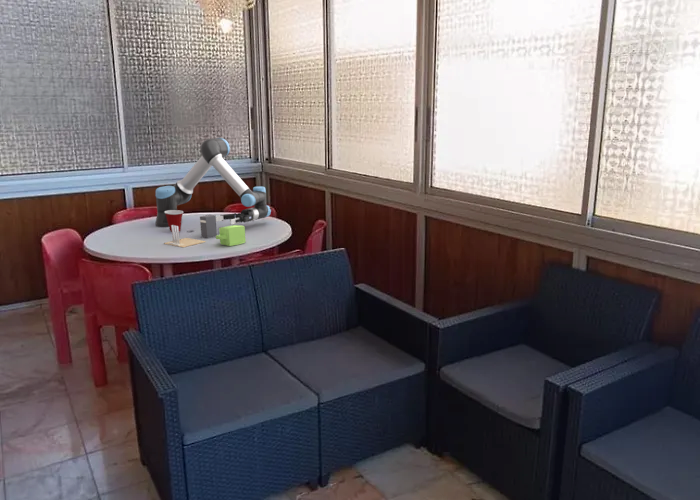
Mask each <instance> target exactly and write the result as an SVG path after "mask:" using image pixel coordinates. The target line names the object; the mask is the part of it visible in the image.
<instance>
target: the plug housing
mask: <svg viewBox="0 0 700 500" xmlns="http://www.w3.org/2000/svg"><path fill="white" fill-rule="evenodd" d="M216 217H217V215H215V214H206V215H202V216H199V222H200V224H199V225H200V235H201V239H206V240H207V239H211V238H216V235H218V229H217V222H216Z"/></svg>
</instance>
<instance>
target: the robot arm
mask: <svg viewBox="0 0 700 500" xmlns="http://www.w3.org/2000/svg"><path fill="white" fill-rule="evenodd" d="M230 147H231V146H230V144H229V142H228V141H227V140H226V139H225V138H222V137H216V138H215V137H214V138H208V139H206V140H203V142H202V143H201V145H200V148H199V149H200V150H199V151H200V154H201V156H200V157H199V158H198V160H197V161H196V162H195V163H194V165H193V166H192V167H191V168H190V170H189V171H188V172H187V173H186V174H185V176H184V177H183V178H182V179H181V180H177V181H176V183H175V184H174V185H166V186H165V185H164V186H160V187H157V188H156V189H155V194H154V195H155V200H156V211H157V213H156V214H157V215H156V218H155V219H156V220H155V227H158V228H169V225H168V221H167V217H166V214H165V211H168V210H178V208H177V207H178V206H180V205H183V204H186V203H188V202H190V200H191V198H192V196H193V195H192V194H193V193H194V189H195V187H196V186H197V185H198V183H199V182H200V181H201V180H202V178H203V177H204V176H205V175H206V174H207V173H208V172H209V170H210V169H211V168H212V167H213V168H214V170H216V172H217V173H218V174H219V175H220V176H221V177H222V179H223V180H224V181H225V182H226V183H227V184H228V185H229V186H230V187H231V189H232V190H233V191H234V192H235V193H236V194H237V195H238V196H239V198H240V201H241V204H242V206H244V207H247V208H246V209H242V210H241V211H240V212H238V213H236V212H233V213H229V214H228V213H226V214H220V215H218V216H216V223H218V222H221V221H222V222H224V220H227V221H228V220H229V224H230V225H235V224H239V223H248V222H251V221H252V222H254V221H255V220H260V219H265V218H269V216H270V215H271V212H272V209H271V208H270V206H269V205H268V204H267V191H266V187H265V186H262V185H261V186H254V187H253V188H252V190H251V189H250V187H249V186H248V185H247V184H246V183H245V182H244V181H243V179H241V177H240V176H239V175H238V174H237V173H236V172H235V170H234V169H233V167H231V165H230V164H228V162H227V161H226V160H225V159H224V158H226V157H227V156H228V155H229V153H230V150H231V148H230Z"/></svg>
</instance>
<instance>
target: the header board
mask: <svg viewBox="0 0 700 500" xmlns="http://www.w3.org/2000/svg"><path fill="white" fill-rule="evenodd" d="M171 227H172V232H171V235H172V236H171V237H172V240H171V241H167V242H164V243H163V245H168V246H174V247H178V248H187V247H191V246H195V245H199V244H203V243H206V240H202V239H196V238H195V239H194V238H190V237H184V238H180V233H179V232H180V231H179V230H178V226H174V227H173V225H171ZM176 230H177V232H176Z"/></svg>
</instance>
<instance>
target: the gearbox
mask: <svg viewBox="0 0 700 500" xmlns="http://www.w3.org/2000/svg"><path fill="white" fill-rule="evenodd" d="M218 230H219V231H218V232H219V234H217V235H216V237H215V239H216V240H219V243H220V245H223V246H229V247H232V246H237V245H242V244H245V243H246V242H247V241H246V227H245V226H244V225H237V224H236V225H235V224H231V225H227V226H226V225H225V226H222V227H219V228H218Z"/></svg>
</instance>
